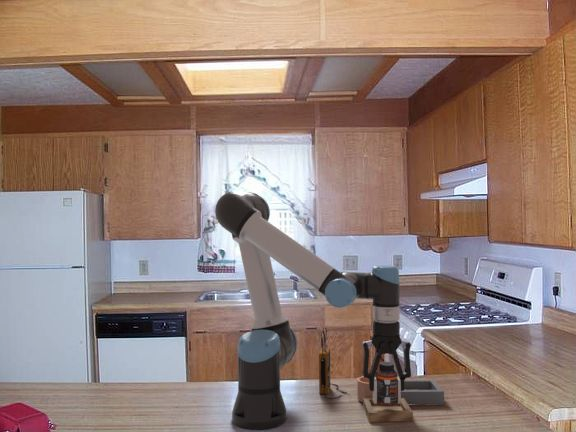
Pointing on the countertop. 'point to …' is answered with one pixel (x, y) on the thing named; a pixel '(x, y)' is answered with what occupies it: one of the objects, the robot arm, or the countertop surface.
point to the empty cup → (363, 388)
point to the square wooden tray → (387, 411)
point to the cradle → (422, 392)
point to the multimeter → (325, 369)
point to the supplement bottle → (386, 384)
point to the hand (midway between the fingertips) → (386, 401)
